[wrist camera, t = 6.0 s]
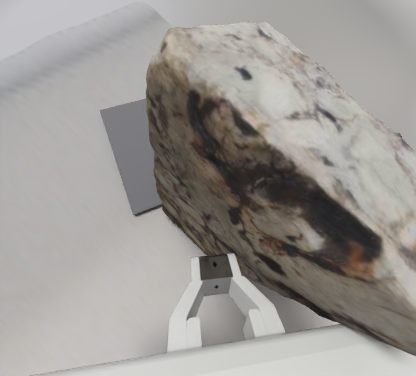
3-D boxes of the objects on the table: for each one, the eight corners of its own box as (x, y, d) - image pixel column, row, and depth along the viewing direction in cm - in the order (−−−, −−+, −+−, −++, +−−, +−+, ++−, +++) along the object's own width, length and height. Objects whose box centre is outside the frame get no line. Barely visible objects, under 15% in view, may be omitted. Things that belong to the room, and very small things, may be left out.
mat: (244, 172, 27) (245, 171, 26) (134, 215, 23) (133, 214, 23) (202, 87, 30) (202, 84, 29) (101, 112, 27) (99, 110, 26)
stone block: (246, 232, 24) (491, 191, 6) (220, 274, 21) (545, 422, 3) (179, 175, 25) (236, -22, 6) (145, 210, 22) (71, 19, 3)
